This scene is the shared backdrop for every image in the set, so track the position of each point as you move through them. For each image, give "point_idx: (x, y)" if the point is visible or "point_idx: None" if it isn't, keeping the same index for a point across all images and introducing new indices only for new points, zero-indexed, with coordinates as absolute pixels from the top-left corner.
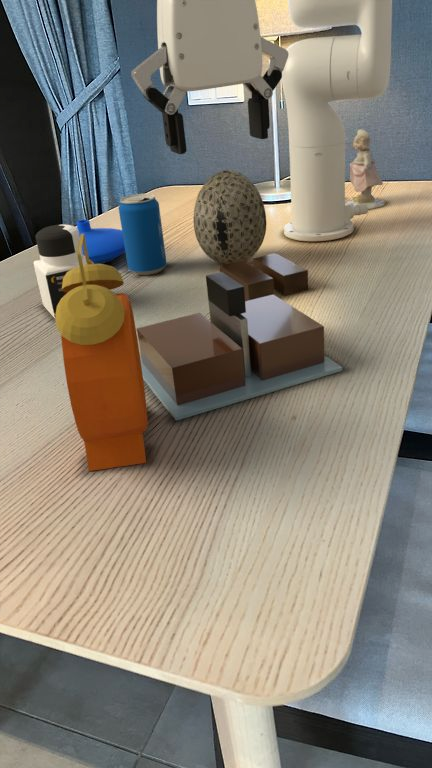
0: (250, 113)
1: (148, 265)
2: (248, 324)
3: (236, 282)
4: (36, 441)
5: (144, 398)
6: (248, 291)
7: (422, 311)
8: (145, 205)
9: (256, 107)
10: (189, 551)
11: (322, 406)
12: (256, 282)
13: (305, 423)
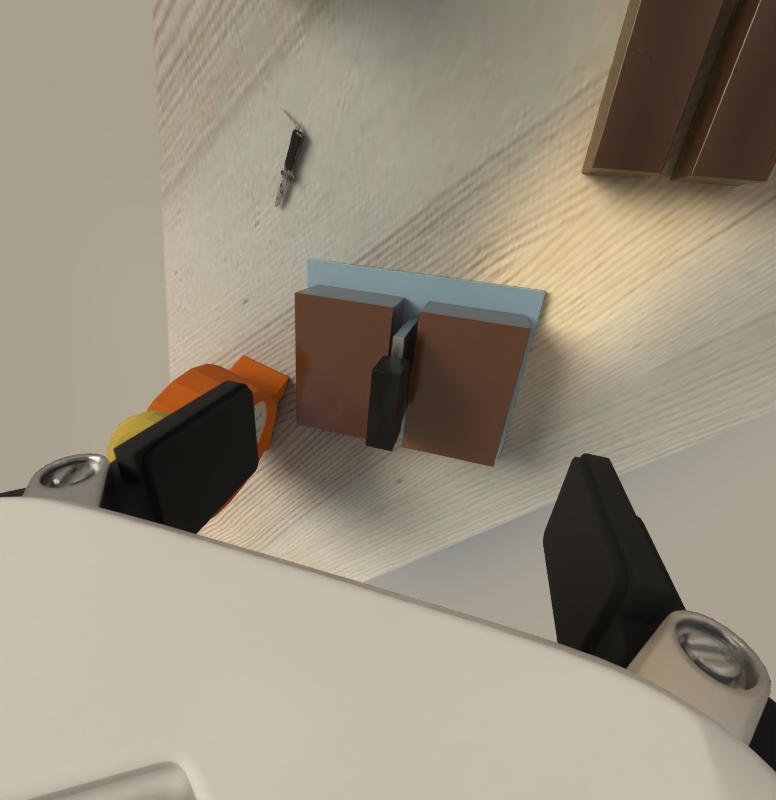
0: (589, 540)
1: None
2: (424, 395)
3: (392, 431)
4: (192, 359)
5: (274, 410)
6: (588, 168)
7: (747, 418)
8: None
9: (572, 622)
10: (268, 529)
11: (432, 485)
12: (614, 168)
13: (401, 492)
